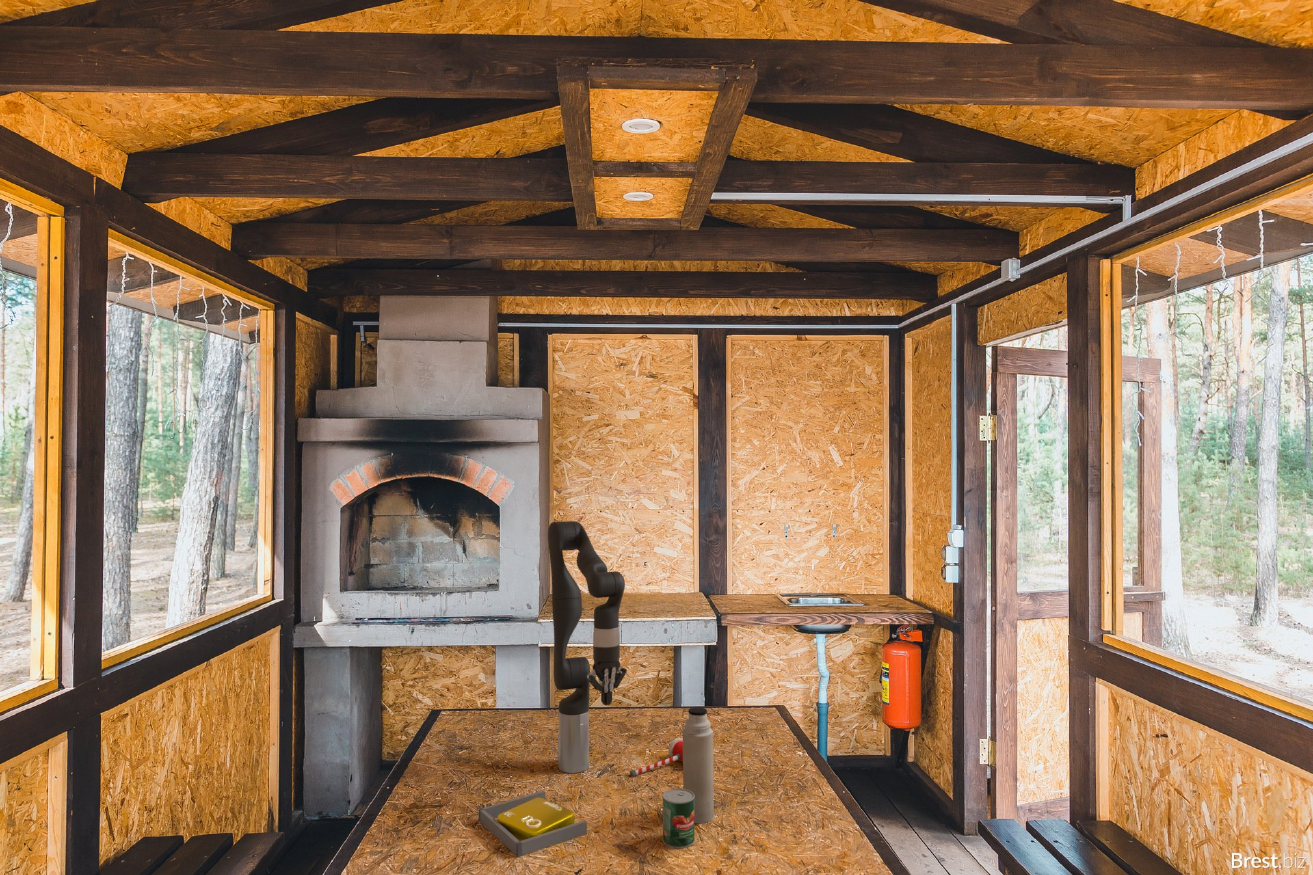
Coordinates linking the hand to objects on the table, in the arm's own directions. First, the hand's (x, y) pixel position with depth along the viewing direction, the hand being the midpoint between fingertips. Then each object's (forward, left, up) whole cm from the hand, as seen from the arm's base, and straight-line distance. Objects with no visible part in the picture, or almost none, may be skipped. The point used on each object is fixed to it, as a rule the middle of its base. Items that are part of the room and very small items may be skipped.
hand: (606, 704), depth 216 cm
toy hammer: (-4, +26, -26) cm, 37 cm away
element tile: (+7, -26, -26) cm, 37 cm away
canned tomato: (+33, 0, -25) cm, 42 cm away
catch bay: (+5, -26, -25) cm, 36 cm away
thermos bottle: (+26, +12, -25) cm, 38 cm away
